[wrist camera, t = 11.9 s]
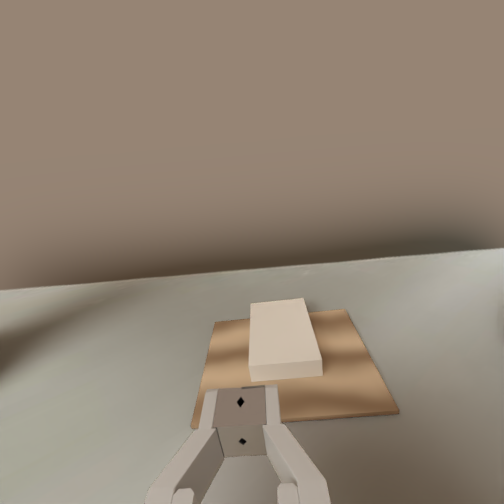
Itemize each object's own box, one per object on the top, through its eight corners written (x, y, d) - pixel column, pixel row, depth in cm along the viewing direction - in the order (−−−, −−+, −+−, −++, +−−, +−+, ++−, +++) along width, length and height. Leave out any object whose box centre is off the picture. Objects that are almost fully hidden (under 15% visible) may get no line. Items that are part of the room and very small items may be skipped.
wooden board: (398, 413, 24) (399, 410, 24) (191, 428, 25) (190, 425, 25) (344, 311, 39) (344, 308, 39) (215, 324, 40) (215, 322, 40)
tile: (322, 359, 27) (303, 297, 39) (248, 366, 28) (250, 303, 39) (322, 376, 28) (304, 311, 39) (251, 382, 29) (252, 316, 40)
